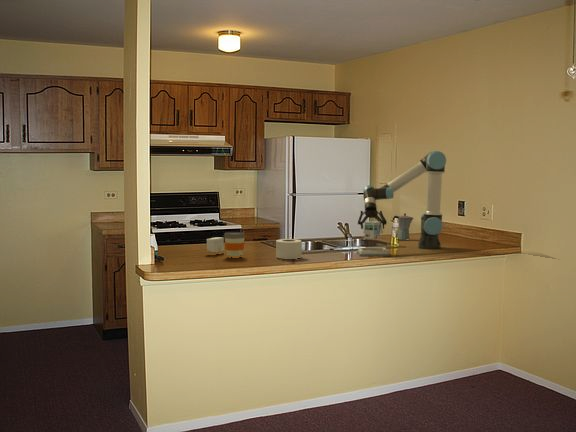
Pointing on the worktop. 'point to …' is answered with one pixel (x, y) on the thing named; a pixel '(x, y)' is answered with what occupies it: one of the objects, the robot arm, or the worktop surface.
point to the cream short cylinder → (289, 248)
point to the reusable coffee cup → (234, 243)
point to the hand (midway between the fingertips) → (373, 232)
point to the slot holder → (372, 251)
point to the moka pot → (403, 226)
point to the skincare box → (215, 244)
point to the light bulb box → (372, 230)
